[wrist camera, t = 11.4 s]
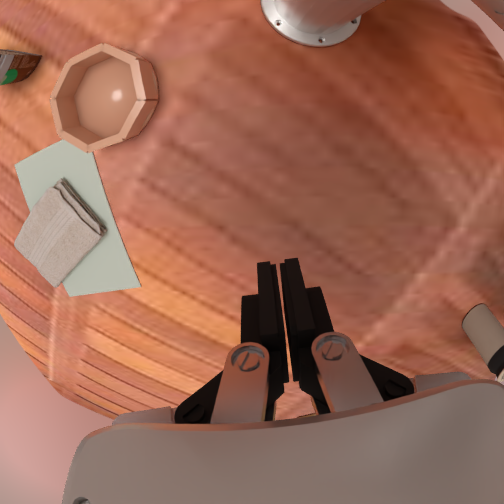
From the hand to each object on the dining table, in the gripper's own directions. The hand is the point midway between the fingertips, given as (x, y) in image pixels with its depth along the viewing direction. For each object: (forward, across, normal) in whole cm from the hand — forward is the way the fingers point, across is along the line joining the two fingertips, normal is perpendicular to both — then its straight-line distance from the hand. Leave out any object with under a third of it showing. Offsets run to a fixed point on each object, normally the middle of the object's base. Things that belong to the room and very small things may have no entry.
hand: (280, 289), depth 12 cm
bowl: (+27, +18, -11) cm, 34 cm away
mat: (+26, +30, +5) cm, 40 cm away
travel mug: (+27, -46, +39) cm, 66 cm away
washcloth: (+26, +33, +6) cm, 43 cm away
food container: (+28, +34, -23) cm, 49 cm away
